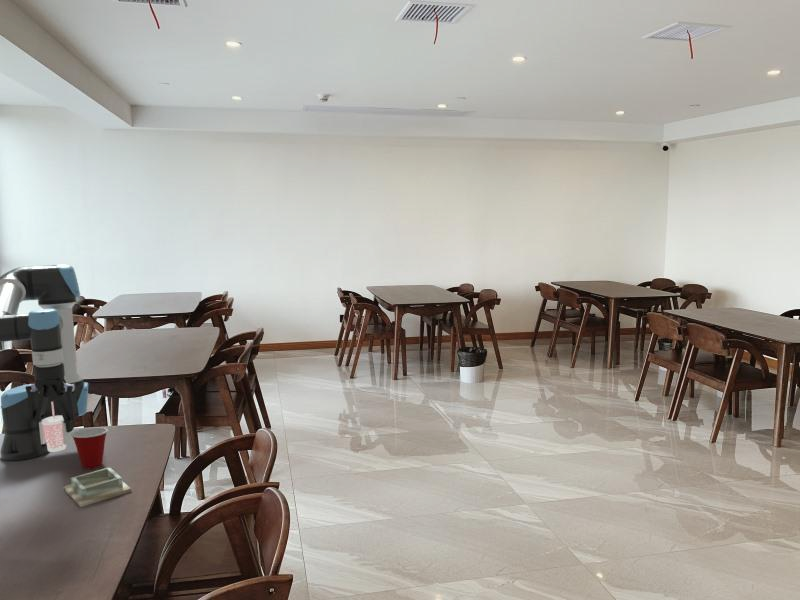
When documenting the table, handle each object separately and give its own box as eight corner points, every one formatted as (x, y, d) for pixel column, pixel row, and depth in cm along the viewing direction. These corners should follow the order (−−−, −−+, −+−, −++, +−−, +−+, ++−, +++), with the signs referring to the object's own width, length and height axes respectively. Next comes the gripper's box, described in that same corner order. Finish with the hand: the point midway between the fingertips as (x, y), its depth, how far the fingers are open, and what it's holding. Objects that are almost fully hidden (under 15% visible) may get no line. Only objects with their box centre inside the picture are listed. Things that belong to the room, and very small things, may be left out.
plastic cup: (117, 459, 207) (114, 425, 205) (98, 472, 196) (95, 436, 195) (87, 458, 208) (83, 424, 206) (67, 472, 197) (63, 436, 196)
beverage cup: (45, 454, 173) (40, 406, 171) (44, 447, 178) (39, 401, 176) (69, 449, 176) (65, 402, 174) (68, 443, 181) (63, 397, 179)
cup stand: (64, 489, 185) (62, 476, 184) (112, 475, 194) (111, 463, 194) (80, 507, 173) (79, 493, 172) (131, 491, 182) (130, 478, 182)
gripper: (7, 367, 170) (16, 447, 174) (73, 367, 169) (81, 447, 172) (25, 361, 178) (33, 437, 181) (88, 360, 177) (95, 437, 180)
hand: (56, 442), depth 177 cm, fingers closed on beverage cup, 6 cm apart
